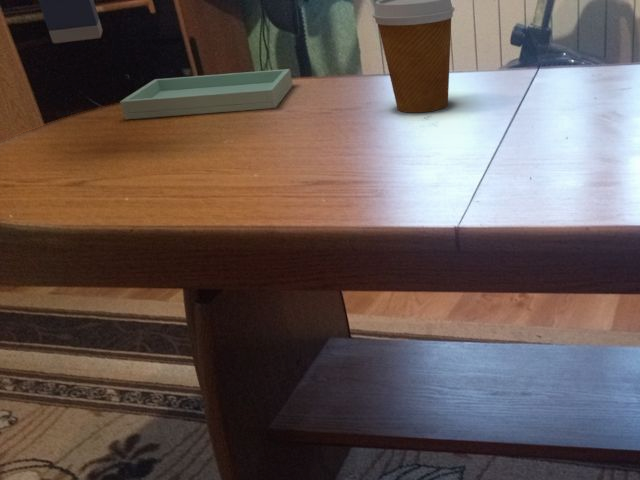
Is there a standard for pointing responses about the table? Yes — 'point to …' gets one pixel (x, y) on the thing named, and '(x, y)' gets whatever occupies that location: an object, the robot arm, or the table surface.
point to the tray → (208, 94)
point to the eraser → (71, 20)
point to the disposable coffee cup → (417, 51)
